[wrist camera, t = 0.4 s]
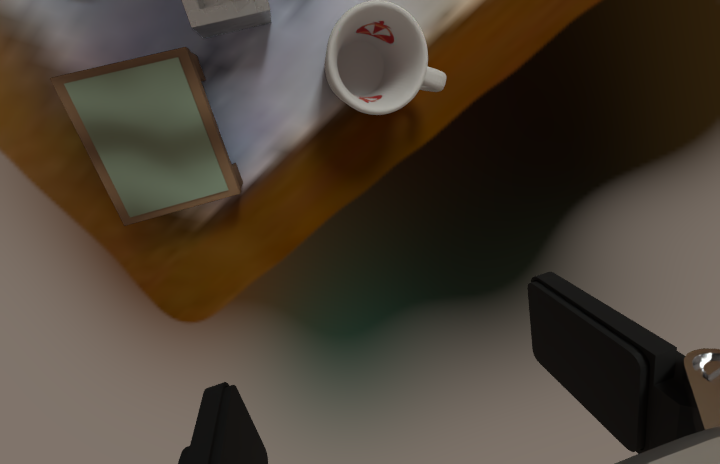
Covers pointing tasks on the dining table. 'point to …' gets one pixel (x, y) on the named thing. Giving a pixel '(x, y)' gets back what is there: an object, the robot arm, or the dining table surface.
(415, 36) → the cup
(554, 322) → the robot arm
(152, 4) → the dining table surface
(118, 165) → the stand
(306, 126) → the dining table surface
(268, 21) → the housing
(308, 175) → the dining table surface
